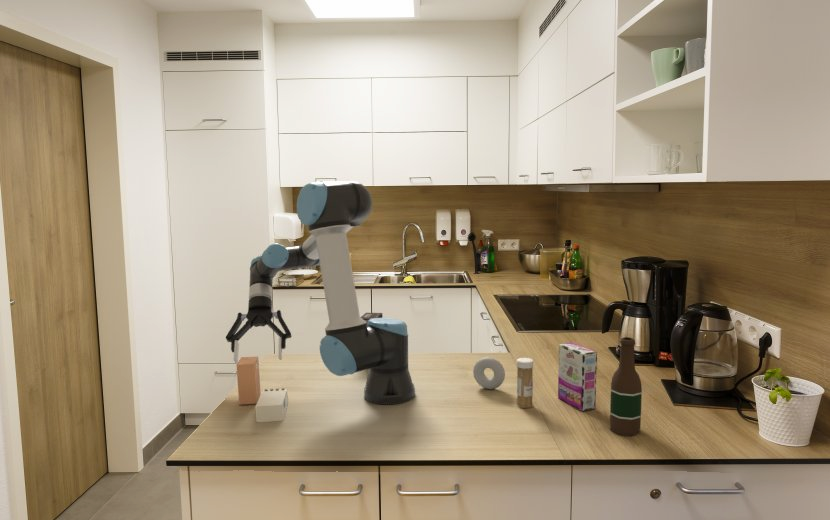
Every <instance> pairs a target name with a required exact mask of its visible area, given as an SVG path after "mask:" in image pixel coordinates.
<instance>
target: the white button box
mask: <svg viewBox="0 0 830 520" xmlns="http://www.w3.org/2000/svg"><path fill="white" fill-rule="evenodd" d="M288 404H289V398H288V388H284V387H282V388H275V389H274V388H269V389H268V388H266V389H263V390H262V391H261V395H260V397H259V400H258V402H257V404H255V418H256V421H255V422H256V423H268V422H270V423H271V422H283V421H284V419H285V415H286V412H287V408H288Z"/></svg>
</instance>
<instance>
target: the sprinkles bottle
mask: <svg viewBox="0 0 830 520" xmlns="http://www.w3.org/2000/svg"><path fill="white" fill-rule="evenodd" d="M516 369H517V370H516V371H517V372H516V373H517V374H516V375H517V376H516V394H517V396H516V397H517V398H516V400H517V401H516V406H517V407H519V408H522V409H530V408H532V407H533V405H534V404H533V395H534V394H533V389H534V387H533V385H534V384H533V381H534V380H533V379H534V378H533V376H534V373H533V370H534V360H533V359H532V358H531V357H530V358H529V357H519V358H517V359H516Z"/></svg>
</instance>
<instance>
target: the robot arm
mask: <svg viewBox="0 0 830 520" xmlns="http://www.w3.org/2000/svg"><path fill="white" fill-rule="evenodd" d="M373 205H374V203H373V198H372V194H371V192H370V190H369V189H368V188H367V186H365V185H364V184H362V183H360V182H358V181H354V180H346V181H345V180H344V181H343V180H338V181H337V180H334V181H332V180H331V181H330V180H329V181H327V180H326V181H325V180H323V181H322V180H320V181H316V182H309V183H307V184H305V185H303V187H302V188H301V189H300V191H299V194H298V196H297V201H296V214H297V217H298V219H299V222H300V223H301V224H302V225H303V226H307V227H308V232H309V234H310V236H308V237H307V239H305V240H304V241H303V243H301V245H297V246H287V247H286V246H285V245H283V244H280V243H277V242H276V243H271V244H269V246H268V247H266V249H265V250H263V253H262V254H261V255H258V256H256V257H254V258H253V259H251V261H250V266H249V290H248V306H247V307H248V308H247V313H242V312H238V313H237V316H236V319H235V321H234V323H233V325H232V326H231V327H230V329H229V331H228V332H227V334H226V336H225V339H226V342H227V343H231V344H230V350H231V352H232V353H233V361H234V363H235V364H237V363H238V362H239V348H240V347H239V346H240V343H239V341H240V340H241V339H242V338H243V336H244V335H246V333H247V332H248V331H249V330H250V329H252V328H253V327H254V328H257V327H266V326H267V327H269V328H270V329H271V330H272V331H274V333H275V334H276V335H277V336H278V356H277V357H278V359H279V361H281V360H282V359H283V350H285V349H286V340H287V339H291V338H292V336H293V335H292V332H291V330H290V329H289V327H288V325H287V324H286V322H285V321H284V319H283V315H282V312H281V310H280V309H278V310H277V311H274V312H273V282H274V277H276V276H277V274H278V273H279V272H282V271H287V270H289V271H290V270H295V269H297V270H298V269H304V268H314V267H315V266H320V273H321V280H322V283H323V284H322V285H323V292H324V297H325V302H326V308H327V309H326V310H327V315H328V321H329V322H328V324H327V325H326V326H325V328H324V331H325V336H324V337H322V338H321V340H320V342H319V343H320V344H319V353H320V357H321V360H322V362H323V364H324V366H325V367H326V368H327V370H328V371H329V372H330V373H331V374H333V375H335V376H339V377H343V376H348V375H354V374H355V373H359V372H361V371H366V370H368V374H367V379H366V381H365V386H364V389H363V390H364V391H363V393H364V394H363V395H364V399H365V400H367V401H368V402H370V403H373V404H379V405H396V404H402V403H406V402H409V401H410V400H413V398H415V396H416V386H415V384H414V383H413V379H412V375H411V372H410V371H409V369H410V368H409V334H408V333H409V332H408V324H407V323H406V322H405V321H403V320H401V319H396V318H390V317H389V318H388V317H387V318H386V317H383V318H372V319H370V320H368V323H367V324H366V321H365V320H363V319H362V318H361V317H362V316H360V311H359V304H358V297H357V292H356V291H357V290H356V286H355V280H354V274H353V267H352V260H351V255H350V250H349V243H348V238H347V237H348V236H347V233H348V232H350V230H352V229H353V228H355V227H360V226H361V225H362V224H363V223H364V222H365V221H366V220H367V219H368V217H370V215H371V213H372V210H373V207H374V206H373ZM273 318H275V319H277V320H278V323H279V324H280V326H281V328H282V330H283V331H284V332H283V331H282V330H281V329H280V328H279V327H278V326H277V325H276V324H275V323H274V322H273V320H272V319H273ZM245 319H247V320H246V322H245V323H244V324H243V325H242V323H243V322H244V321H245ZM241 325H242V327H241ZM367 325H368V327H367Z"/></svg>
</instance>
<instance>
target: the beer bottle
mask: <svg viewBox="0 0 830 520" xmlns="http://www.w3.org/2000/svg"><path fill="white" fill-rule="evenodd" d="M619 343H620V351H619V352H620V354H619V363H618V368H617V369H616V370H615V371H614V373H613V375H612V377H611V381H610V382H611V383H610V404H609V405H610V407H609V425H610V427H609V430H610V431H611V432H612V433H615V434H616V435H618V436H625V437H634V436H637V435H639V434H640V433H641V422H642V421H641V420H642V398H643V397H642V395H643V389H642V388H643V387H642V380H641V378H640V374H639V373H638V372H637V371H636V366H635V364H636V362H635V345H636V341H635V338H632V337H631V336H630V337H627V336H624V337H621V338H620V340H619Z"/></svg>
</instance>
